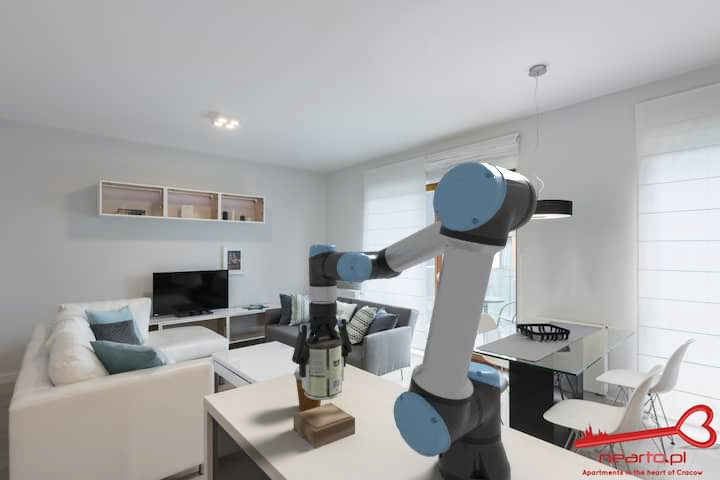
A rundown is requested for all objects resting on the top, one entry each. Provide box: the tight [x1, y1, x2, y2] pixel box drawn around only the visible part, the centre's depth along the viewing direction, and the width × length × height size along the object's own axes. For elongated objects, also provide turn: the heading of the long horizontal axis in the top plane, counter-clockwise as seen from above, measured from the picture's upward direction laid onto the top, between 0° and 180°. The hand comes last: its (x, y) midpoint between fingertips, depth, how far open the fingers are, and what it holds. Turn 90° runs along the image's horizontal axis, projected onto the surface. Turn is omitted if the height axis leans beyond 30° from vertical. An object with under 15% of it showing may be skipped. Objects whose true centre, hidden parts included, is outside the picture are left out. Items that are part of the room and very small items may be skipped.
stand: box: [292, 402, 356, 449], centre depth 97 cm, size 12×12×4 cm
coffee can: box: [304, 336, 343, 401], centre depth 97 cm, size 10×10×14 cm
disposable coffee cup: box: [293, 366, 322, 412], centre depth 111 cm, size 10×10×12 cm
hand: (323, 384), depth 97 cm, fingers closed on coffee can, 10 cm apart
